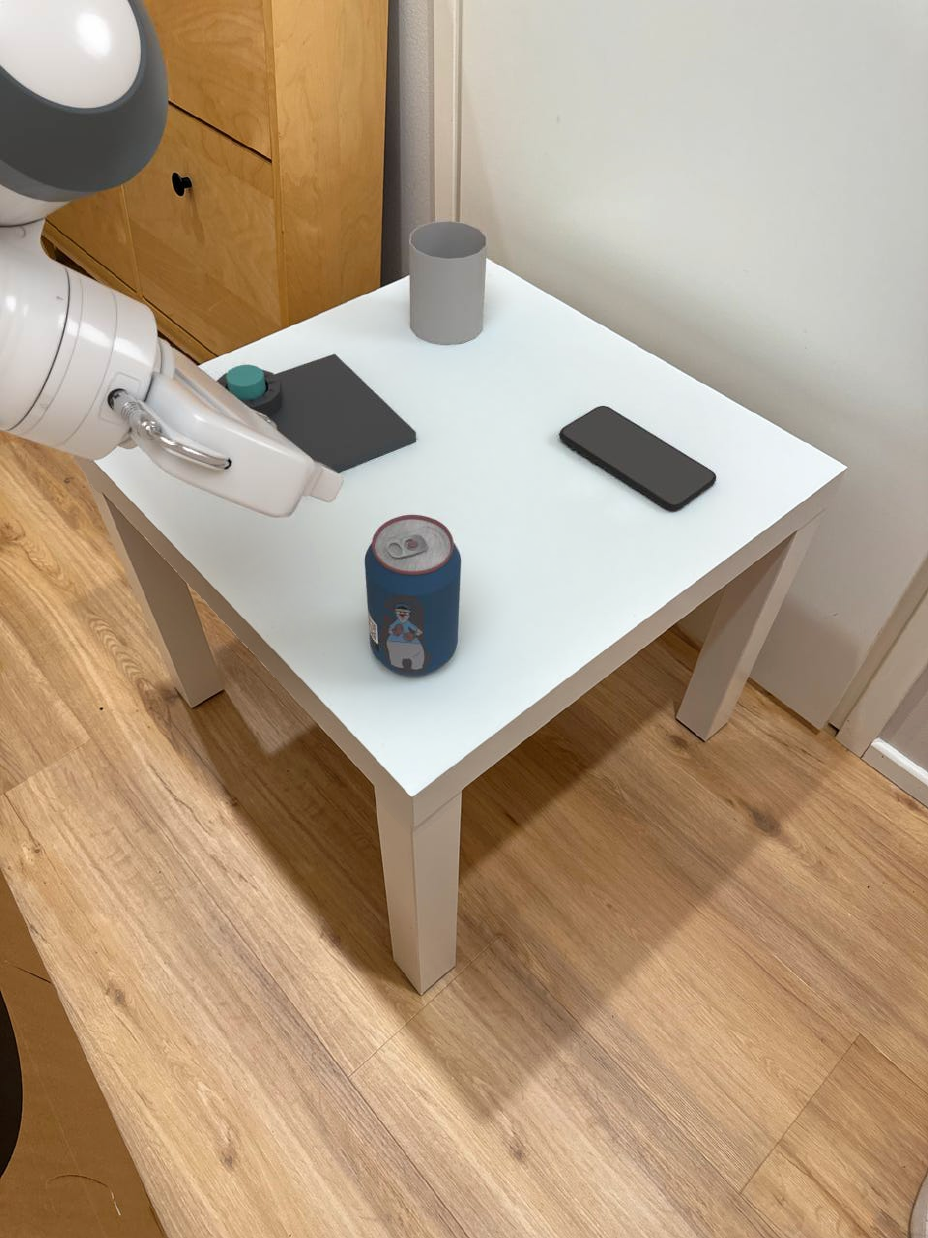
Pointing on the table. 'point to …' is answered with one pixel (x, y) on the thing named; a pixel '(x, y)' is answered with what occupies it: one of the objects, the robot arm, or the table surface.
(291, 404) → the scale
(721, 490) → the table surface
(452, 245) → the cup
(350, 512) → the table surface
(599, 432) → the smartphone
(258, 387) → the tare button
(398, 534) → the soda can
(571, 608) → the table surface
